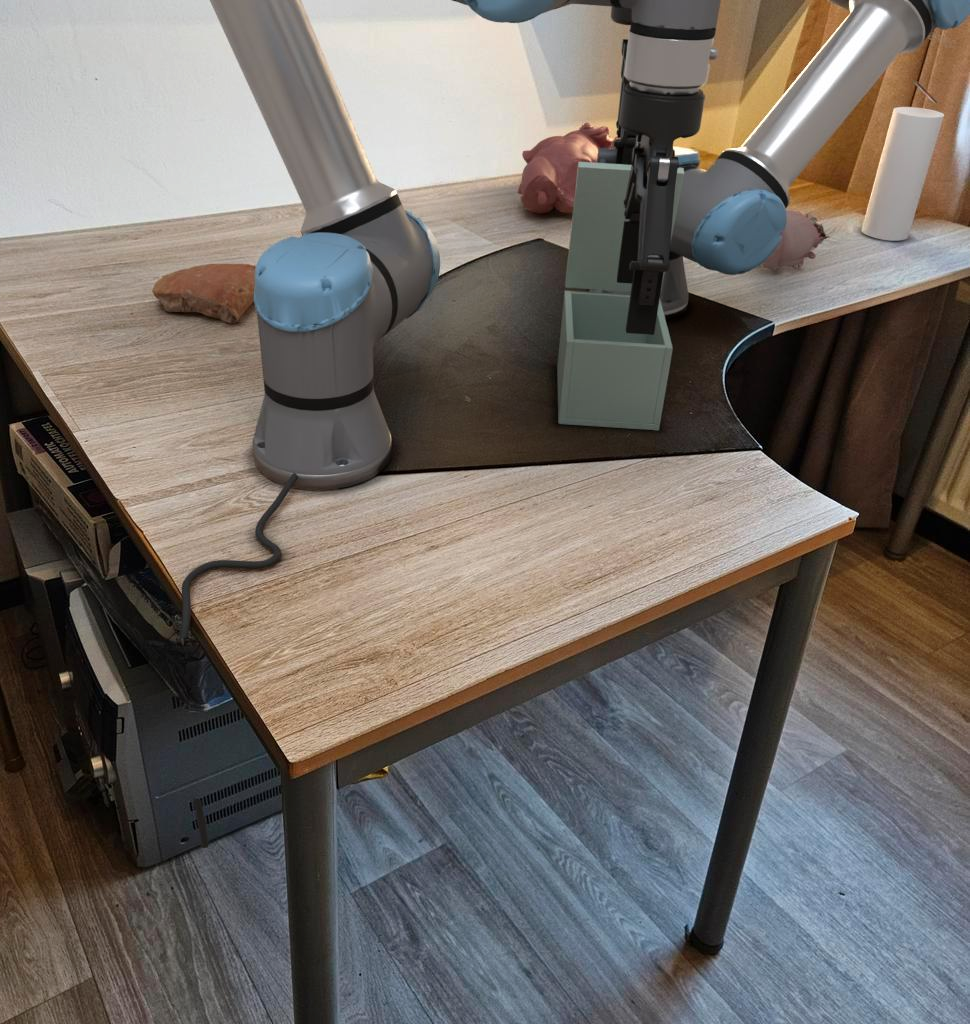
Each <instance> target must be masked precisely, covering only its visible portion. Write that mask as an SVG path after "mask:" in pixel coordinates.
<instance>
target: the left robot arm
mask: <svg viewBox="0 0 970 1024" xmlns="http://www.w3.org/2000/svg"><path fill="white" fill-rule="evenodd" d="M451 1H452V2H456V3H459V4H462V5H463V6H464V5H465V6H468V7H469V8H470V10H472V11H473V12H474V13H475V14H477V15H478V16H479V17H481V18H482V19H485V20H487V21H490V22H493V23H501V24H503V23H509V24H520V23H525V22H528V21H531V20H533V19H535V18H536V17H538V16H540V15H543V14H545V13H548V12H551V11H554V10H557V9H561V8H564V7H566V6H569V5H586V6H597V7H611V8H612V7H617V8H631V9H632V20H631V25H630V28H629V31H628V46H627V54H626V63H625V71H624V76H625V78H626V79H627V80H628V81H630V84H627V85H626V87H625V88H624V89H623V94H622V102H621V111H620V119H619V123H620V126H621V127H622V128H623V129H624V130H625V131H627V132H629V133H632V134H635V135H637V136H636V144H635V147H634V148H633V152H632V165H631V171H630V176H629V181H628V187H627V192H626V197H625V200H624V205H625V208H626V209H625V212H624V216H625V219H629V222H628V221H624V226H623V234H622V242H621V250H620V258H619V266H618V273H617V283H631V284H632V288H631V295H630V302H629V310H628V317H627V324H626V333H633V334H649V335H654V331H655V325H656V319H657V312H658V306H659V299H660V293H661V286H662V280H663V273H664V272H667V271H668V269H669V266H670V262H669V253H670V242H671V230H672V218H673V206H674V195H675V184H676V177H677V169H678V168H679V162H678V156H675V150H673V147H674V141H675V140H677V139H680V138H681V139H687V138H691V137H694V136H695V135H697V134H698V133H699V132H700V129H701V125H702V120H703V113H704V109H705V108H704V107H705V101H706V94H705V92H704V91H703V90H702V89H701V87H703V86H705V85H706V84H707V83H708V79H709V73H710V66H711V65H710V64H709V63H710V60H711V61H713V60H717V59H718V57H719V53H720V52H719V49H718V48H717V47H713V46H714V39H715V36H716V32H717V25H718V19H719V14H720V7H721V2H722V0H451ZM209 2H210V4H211V6H212V9H213V11H214V13H215V15H216V17H217V19H218V22H219V24H220V26H221V28H222V31H223V33H224V35H225V37H226V40H227V41H228V42H227V43H228V44H229V46H230V48H231V51H232V52H233V55H234V57H235V60H236V61H237V63H238V65H239V68H240V70H241V72H242V74H243V76H244V79H245V81H246V83H247V85H248V87H249V90H250V92H251V94H252V96H253V98H254V100H255V103H256V105H257V107H258V110H259V111H260V114H261V117H262V118H263V120H264V122H265V125H266V127H267V129H268V131H269V134H270V136H271V139H272V140H273V142H274V144H275V147H276V150H277V151H278V153H279V155H280V157H281V160H282V162H283V164H284V166H285V169H286V171H287V174H288V176H289V177H290V179H291V182H292V184H293V186H294V188H295V190H296V193H297V195H298V197H299V199H300V202H301V204H302V206H303V208H304V210H305V216H304V219H303V223H302V225H301V228H300V234H301V236H300V237H296V236H290V237H287V238H284V239H282V240H279V241H277V242H276V243H274V244H272V245H270V246H269V247H268V248H267V249H266V250H265V251H264V252H263V253H261V256H259V258H258V259H257V262H256V265H255V266H256V268H255V288H254V289H255V290H254V302H253V303H254V307H255V311H256V318H257V326H258V327H257V328H258V329H257V330H258V338H259V339H258V340H259V349H260V359H261V369H262V378H263V388H264V390H263V391H264V396H263V400H262V404H261V408H260V412H259V415H258V419H257V423H256V427H255V430H254V434H253V438H252V442H251V443H252V445H251V446H252V455H253V460H254V464H255V467H256V468H257V470H258V471H259V472H260V473H261V474H262V475H263V476H265V477H266V478H268V479H269V480H271V481H273V482H275V483H278V484H280V485H283V488H282V489H281V490H280V492H279V493H278V494H277V497H276V498H275V500H273V502H272V504H271V505H270V506H269V507H268V509H267V510H266V511H265V512H264V513H263V514H262V515H261V517H260V518H259V520H258V521H257V523H256V526H255V531H254V532H255V538H256V539H257V540H258V542H259V543H260V544H261V545H262V546H264V547H265V548H267V549H268V550H270V551H271V552H272V553H273V555H272V556H271V557H269V558H267V559H264V560H256V561H255V560H254V561H253V560H251V561H249V560H235V559H234V560H233V559H224V560H223V559H217V560H211V561H208V562H204V563H202V564H201V565H198V566H197V567H196V568H194V569H193V570H192V571H190V572H189V573H188V575H187V576H186V577H185V578H184V580H183V582H182V585H181V599H182V600H181V601H182V603H181V606H182V608H181V609H182V610H181V613H182V614H181V624H180V630H179V638H180V639H186V638H187V637H189V634H190V628H191V617H192V600H191V586H192V584H193V582H194V581H195V580H196V579H197V578H198V577H200V576H201V575H202V574H204V573H206V572H208V571H211V570H214V569H241V570H242V569H243V570H244V569H245V570H260V569H261V570H262V569H267V568H270V567H272V566H274V565H275V564H277V563H278V562H279V561H280V559H281V558H282V550H281V548H280V546H278V545H277V544H275V543H274V542H273V541H272V540H270V539H268V537H266V535H264V528H265V526H266V524H267V522H268V521H269V519H270V518H271V517H272V516H273V515H274V513H276V511H277V510H278V509H279V507H280V506H281V504H282V503H283V502H284V500H285V498H286V497H287V495H288V494H289V492H290V491H291V489H292V488H295V489H301V490H312V491H314V490H315V491H323V490H327V491H328V490H337V489H342V488H348V487H351V486H355V485H358V484H361V483H363V482H366V481H368V480H370V479H373V478H374V477H375V476H377V475H378V474H380V473H381V472H382V471H383V470H384V469H385V468H386V467H387V466H388V464H389V463H390V461H391V458H392V434H391V431H390V430H389V427H388V424H387V422H386V419H385V417H384V413H383V411H382V408H381V406H380V403H379V400H378V398H377V395H376V393H375V385H374V346H375V344H376V343H377V342H379V341H380V340H381V339H382V338H384V337H385V336H386V335H388V334H389V332H391V331H392V330H394V329H395V328H396V327H397V326H399V325H400V324H401V323H402V322H403V321H404V320H406V319H409V318H410V317H412V316H413V315H414V314H416V313H417V312H418V311H419V310H420V309H421V308H422V307H423V305H424V304H425V303H426V301H427V300H428V299H429V298H430V297H431V295H432V294H433V292H434V291H435V289H436V286H437V284H438V281H439V278H440V273H441V256H440V250H439V245H438V242H437V240H436V238H435V235H434V234H433V232H432V231H431V229H430V227H429V226H428V225H427V224H426V223H425V221H423V219H422V218H420V217H416V216H415V215H414V214H413V213H412V212H411V211H408V210H405V208H404V205H403V203H402V201H401V199H400V196H399V193H398V192H397V190H396V189H395V188H393V187H391V186H389V185H386V184H385V183H383V182H380V181H379V180H378V179H377V177H376V175H375V173H374V171H373V168H372V165H371V163H370V160H369V159H368V156H367V153H366V151H365V148H364V146H363V144H362V142H361V139H360V137H359V134H358V132H357V130H356V127H355V125H354V123H353V121H352V118H351V115H350V113H349V111H348V109H347V106H346V104H345V101H344V98H343V96H342V94H341V92H340V90H339V87H338V85H337V83H336V80H335V78H334V75H333V73H332V71H331V68H330V66H329V63H328V61H327V58H326V56H325V54H324V51H323V49H322V47H321V45H320V42H319V40H318V38H317V34H316V33H315V31H314V27H313V26H312V23H311V20H310V18H309V16H308V14H307V11H306V9H305V7H304V4H303V2H302V0H209ZM649 255H658V257H659V258H655V257H648V256H649ZM192 802H193V808H194V811H195V812H194V813H195V818H196V823H197V828H198V834H199V840H200V847H201V848H203V849H206V848H208V847H209V844H210V842H209V836H208V830H207V823H206V818H205V813H204V808H203V803H202V802H203V801H202V800H201V799H198V798H193V797H192Z"/></svg>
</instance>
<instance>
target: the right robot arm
mask: <svg viewBox="0 0 970 1024" xmlns="http://www.w3.org/2000/svg"><path fill="white" fill-rule="evenodd" d="M825 1H826V2H828V3H830V4H832V5H834V6H835V7H836V6H837V7H839V8H841V9H843V10H846V11H848V12H850V13H848V16H847V17H846V18H845V19H844V20H843V22H842V23H841V24H840V25H839V27H837V29H836V30H835V32H834V33H833V34H832V35H831V36H830V37H829V38H828V40H827V41H826V42H825V43H824V44H823V46H822V47H821V48H820V50H819V51H818V52H817V53H816V54H815V56H814V57H813V58H812V59H811V61H809V63H808V64H807V65H806V67H805V68H804V69H803V70H802V71H801V73H800V74H798V76H797V78H796V79H795V80H794V81H793V82H792V84H791V85H790V86H789V88H788V89H786V91H785V92H784V94H783V95H782V96H781V97H780V98H779V100H778V101H777V102H776V103H775V105H773V107H772V108H771V109H770V110H769V112H768V113H767V114H766V116H765V117H764V118H763V119H762V120H761V121H760V123H759V124H758V125H757V127H756V128H755V129H754V130H753V132H751V134H750V135H749V136H748V138H747V139H746V140H745V141H744V142H743V144H742V145H741V146H740V147H737V148H726V149H724V150H723V151H722V152H721V153H720V154H719V155H718V156H717V158H716V159H715V160H714V161H713V162H712V164H711V165H710V166H709V168H708V169H707V170H706V169H704V168H701V167H699V166H700V164H701V159H700V153H699V151H698V150H696V149H693V148H689V147H682V146H673V150H675V156H678V162H679V168H683V169H684V177H683V183H682V188H681V193H680V198H679V203H678V208H677V213H676V218H675V223H674V228H673V233H672V238H671V243H670V253H669V262H670V266H669V269H668V271H667V272H665V274H664V279H663V284H662V289H661V293H660V301H661V305H662V308H663V312H664V316H665V320H670V319H674V318H677V317H679V316H681V315H683V314H684V313H685V312H686V311H687V309H688V303H689V288H688V287H689V286H688V282H687V275H686V269H685V263H684V258H685V259H687V260H689V261H692V262H694V263H695V264H698V265H699V266H700V267H702V268H704V269H705V270H708V271H713V272H717V273H721V274H724V275H728V276H735V275H743V274H746V273H749V272H751V271H754V270H755V269H757V268H758V267H759V266H762V265H761V264H762V263H763V262H764V261H766V260H767V259H768V258H769V257H770V255H771V254H772V253H773V252H774V250H775V249H776V248H777V246H778V244H779V243H780V241H781V239H782V236H781V235H780V233H781V232H782V231H784V230H785V227H786V222H787V215H786V208H787V209H788V206H789V205H790V202H791V201H790V200H791V199H790V191H789V188H790V187H791V185H792V184H793V183H795V181H796V179H797V178H798V177H799V176H800V175H801V173H802V172H803V171H804V170H805V168H806V167H807V166H808V165H809V164H810V163H811V161H812V160H813V159H814V158H815V156H816V155H817V154H818V153H819V152H820V150H821V149H822V148H823V147H824V145H825V144H826V143H827V142H828V141H829V139H830V138H832V136H833V134H834V133H835V132H836V131H837V130H838V128H839V127H840V126H841V125H842V123H844V121H845V120H846V119H847V117H849V115H850V114H851V113H852V112H853V110H854V109H855V108H856V106H858V104H859V103H860V102H861V101H862V99H863V98H864V97H865V96H866V95H867V93H868V92H869V91H870V90H871V89H872V87H873V86H874V85H875V84H876V82H877V81H878V80H879V79H880V77H881V76H882V75H883V74H884V73H885V72H886V70H888V68H889V66H890V65H891V64H892V63H893V62H894V60H896V58H897V57H898V56H899V54H907V53H912V52H914V51H916V50H917V49H918V48H920V46H921V45H922V44H924V42H925V41H926V39H928V38H929V37H930V35H931V34H932V33H931V32H933V31H935V29H937V28H938V29H940V30H941V31H942V30H943V31H947V30H949V29H955V28H957V27H959V26H960V25H962V24H963V23H964V22H965V21H966V20H967V19H968V17H969V16H970V0H825ZM610 9H611V10H610V20H611V21H612V22H614V23H615V24H619V25H623V26H631V20H632V9H631V8H617V7H611V8H610ZM929 34H930V35H929ZM927 37H928V38H927ZM627 46H628V39H627V38H623V39H622V42H621V55H622V59H621V68H620V78H621V83H620V92H619V101H618V113H617V121H616V122H615V127H616V129H617V130H616V134H615V135H616V137H617V138H620V139H616V141H614V144H613V146H614V147H615V149H617V155H616V164H624V165H632V152H633V148H634V147H635V144H636V136H637V135H635V134H632V133H629V132H627V131H625V130H624V129H623V128H622V127H621V126H620V123H619V119H620V111H621V102H622V94H623V89H624V88H625V87H626V85H627V84H630V81H628V80H627V79H626V78H625V76H624V71H625V63H626V54H627ZM589 292H600V293H615V294H631V292H627V291H611V290H596V289H589Z"/></svg>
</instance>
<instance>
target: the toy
mask: <svg viewBox="0 0 970 1024" xmlns="http://www.w3.org/2000/svg"><path fill="white" fill-rule="evenodd" d="M786 215H787V222H786V227H785V230H784V231H782V232H781V233H780V235H781V236H782V239H781V241H780V243H779V244H778V246H777V248H776V249H775V250H774V252H773V253H772V254H771V255H770V257H769V258H768V259H767V260H766V261H764V262H763V263H762V264H761V265H760V266H762V267H763V268H765V269H769V270H773V271H777V270H778V269H779V268H792V269H794V268H795V266H797V268H800V267H802V266H803V265H804V260H805V259H807V258H808V259H809V260H814V259H816V257H817V254H816V253H814V252H813V250H815V249H817V248H818V246H819V245H820V244H822V242H824V240H826V239H830V236H829V235H827V234H826V233H825V229H824V228H825V227H824V225H823V224H822V223H818V219H817V217H816V216H814V215H813V214H811V213H808V214H806V215H804V214H803V213H802V212H801V211H798V210H795V209H792V208H788V207H787V208H786Z"/></svg>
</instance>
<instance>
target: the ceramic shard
mask: <svg viewBox="0 0 970 1024" xmlns="http://www.w3.org/2000/svg"><path fill="white" fill-rule="evenodd" d="M255 268H256V265H252V264H249V263H207V264H201V265H194V266H192V267H188V268H183V269H179V270H176V271H173V272H170V273H167V274H164V275H162V276H161V277H160V278H159V279H158V280H157V281H156V282H155V283H154V285H153V287H152V290H151V292H152V295H153V296H154V297H155V298H156V299H157V300H158V301H159V302H160V303H161V305H162V307H163V308H164V310H165V311H167V312H169V313H174V312H175V313H200V314H203V315H204V316H206V317H210V318H216V319H220V320H221V321H223V322H225V323H227V324H235V323H237V322H238V321H239V319H240V318H241V317H242V315H243V314H244V313H245V312H246V310H247V309H249V307H250V306H251V305H252V304H253V303H254V290H255V289H254V288H255Z"/></svg>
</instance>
